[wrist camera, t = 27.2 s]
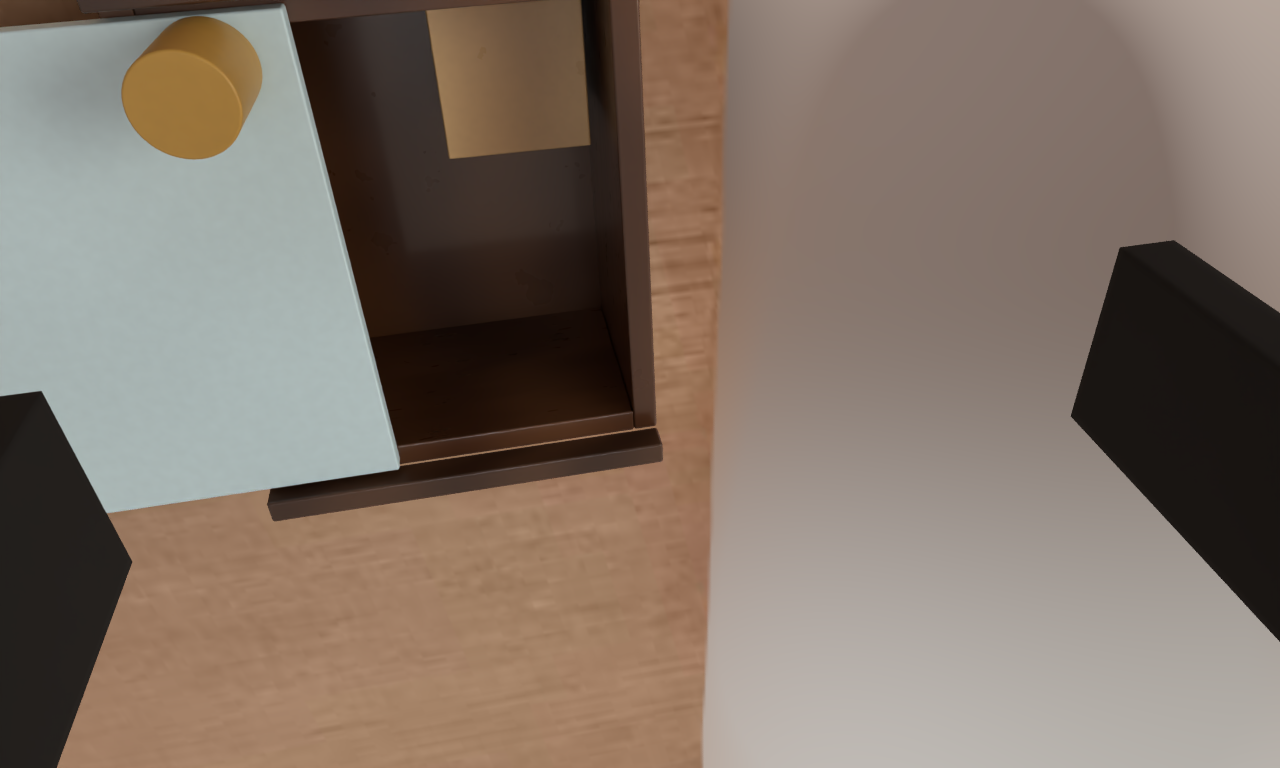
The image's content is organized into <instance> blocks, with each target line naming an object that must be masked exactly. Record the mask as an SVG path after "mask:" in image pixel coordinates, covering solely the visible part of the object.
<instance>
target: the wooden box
mask: <svg viewBox="0 0 1280 768" xmlns="http://www.w3.org/2000/svg"><path fill="white" fill-rule="evenodd" d="M529 1H541V0H77V2H78V5H79V8H80V10H81V12H82V13H95V12H98V14H99V17H100V19H102V18H114V17H126V16H137V15H149V14H160V13H172V12H184V11H195V10H207V9H219V8H230V7H242V6H254V5H265V4H277V3H283V4H284V5H285V7H286V10H287V14H288V18H289V22H290V26H291V30H292V34H293V38H294V42H295V46H296V50H297V54H298V58H299V62H300V66H301V70H302V74H303V78H304V82H305V85H306V89H307V93H308V97H309V101H310V105H311V109H312V113H313V117H314V121H315V125H316V129H317V133H318V137H319V141H320V145H321V149H322V153H323V157H324V161H325V164H326V168H327V172H328V176H329V180H330V184H331V188H332V192H333V196H334V200H335V204H336V208H337V212H338V216H339V220H340V224H341V228H342V232H343V236H344V240H345V243H346V247H347V251H348V255H349V259H350V263H351V267H352V271H353V275H354V279H355V283H356V287H357V291H358V295H359V299H360V303H361V307H362V311H363V315H364V319H365V322H366V326H367V330H368V334H369V338H370V342H371V346H372V350H373V354H374V358H375V362H376V366H377V370H378V374H379V378H380V382H381V386H382V390H383V394H384V397H385V401H386V405H387V409H388V413H389V417H390V421H391V425H392V429H393V433H394V437H395V441H396V445H397V449H398V453H399V457H400V464H404V463H411V462H417V461H424V460H431V459H437V458H444V457H451V456H457V455H464V454H471V453H477V452H484V451H491V450H497V449H504V448H511V447H517V446H524V445H531V444H538V443H544V442H551V441H558V440H564V439H571V438H578V437H584V436H591V435H598V434H604V433H611V432H618V431H624V430H631V429H633V428H634V427H635V428H643V427H650V426H655V425H656V401H655V376H654V352H653V328H652V304H651V279H650V255H649V231H648V206H647V182H646V158H645V134H644V109H643V85H642V61H641V37H640V12H639V0H581V2H582V17H583V32H584V47H585V62H586V77H587V92H588V107H589V122H590V137H591V144H590V145H586V146H576V147H566V148H556V149H546V150H536V151H526V152H516V153H506V154H496V155H486V156H476V157H466V158H456V159H449V156H448V150H447V144H446V138H445V132H444V125H443V119H442V113H441V107H440V100H439V94H438V88H437V82H436V76H435V69H434V63H433V57H432V51H431V44H430V38H429V32H428V26H427V20H426V13H425V11H428V10H439V9H450V8H462V7H473V6H484V5H496V4H507V3H518V2H529ZM662 460H663V447H662V442H661V439H660V436H659V433H658V430H657V429H656V428H651V429H644V430H638V431H631V432H624V433H618V434H611V435H604V436H598V437H591V438H584V439H578V440H571V441H564V442H558V443H551V444H544V445H538V446H531V447H524V448H518V449H511V450H504V451H498V452H491V453H484V454H478V455H471V456H464V457H458V458H451V459H444V460H438V461H431V462H424V463H418V464H411V465H404V466H400V467H399V469H398V470H392V471H385V472H379V473H372V474H365V475H359V476H352V477H345V478H339V479H332V480H325V481H319V482H312V483H306V484H299V485H292V486H286V487H279V488H272V489H270V494H269V499H268V503H267V506H268V508H269V511H270V514H271V516H272V519H273V521H281V520H287V519H293V518H300V517H306V516H313V515H319V514H326V513H332V512H339V511H345V510H352V509H358V508H365V507H371V506H377V505H384V504H390V503H397V502H403V501H410V500H416V499H423V498H429V497H436V496H442V495H449V494H455V493H462V492H468V491H474V490H481V489H487V488H494V487H500V486H507V485H513V484H520V483H526V482H533V481H539V480H546V479H552V478H558V477H565V476H571V475H578V474H584V473H591V472H597V471H604V470H610V469H617V468H623V467H630V466H636V465H642V464H649V463H655V462H661V461H662Z"/></svg>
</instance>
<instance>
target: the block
mask: <svg viewBox="0 0 1280 768" xmlns="http://www.w3.org/2000/svg"><path fill="white" fill-rule="evenodd" d="M425 13H426V20H427V26H428V32H429V38H430V44H431V51H432V57H433V63H434V69H435V76H436V82H437V88H438V94H439V100H440V107H441V113H442V119H443V125H444V132H445V138H446V144H447V150H448V156H449V159H456V158H466V157H476V156H486V155H496V154H506V153H516V152H526V151H536V150H546V149H556V148H566V147H576V146H586V145H590V144H591V137H590V122H589V107H588V92H587V77H586V62H585V47H584V32H583V17H582V2H581V0H541V1H529V2H518V3H507V4H496V5H484V6H473V7H462V8H450V9H439V10H428V11H425Z"/></svg>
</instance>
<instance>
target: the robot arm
mask: <svg viewBox="0 0 1280 768" xmlns="http://www.w3.org/2000/svg"><path fill="white" fill-rule="evenodd" d="M1071 417H1072V418H1073V419H1074V420H1075V421H1076V422H1077V423H1078V425H1079V426H1080V427H1081V428H1082V429H1083V430H1084V431H1085V432H1086V433H1087V434H1088V435H1089V436H1090V437H1091V438H1092V440H1093V441H1094V442H1095V443H1096V444H1097V445H1098V446H1099V447H1100V448H1101V449H1102V450H1103V452H1104V453H1106V455H1107V456H1108V457H1109V458H1110V459H1111V460H1112V461H1113V462H1114V463H1115V464H1116V465H1117V467H1119V469H1120V470H1121V471H1122V472H1123V473H1124V474H1125V475H1126V476H1127V477H1128V478H1129V479H1130V481H1131V482H1132V483H1133V484H1134V485H1135V486H1136V487H1137V488H1138V489H1139V490H1140V491H1141V492H1142V494H1143V495H1144V496H1145V497H1146V498H1147V499H1148V500H1149V501H1150V502H1151V503H1152V504H1153V505H1154V507H1156V509H1157V510H1158V511H1159V512H1160V513H1161V514H1162V515H1163V516H1164V517H1165V518H1166V519H1167V521H1169V523H1170V524H1171V525H1172V526H1173V527H1174V528H1175V529H1176V530H1177V531H1178V532H1179V533H1180V535H1182V537H1183V538H1184V539H1185V540H1186V541H1187V542H1188V543H1189V544H1190V545H1191V546H1192V547H1193V548H1194V550H1195V551H1196V552H1197V553H1198V554H1199V555H1200V556H1201V557H1202V558H1203V559H1204V560H1205V561H1206V562H1207V564H1208V565H1209V566H1210V567H1211V568H1212V569H1213V570H1214V571H1215V572H1216V573H1217V574H1218V576H1219V577H1220V578H1221V579H1222V580H1223V581H1224V582H1225V583H1226V584H1227V585H1228V586H1229V587H1230V588H1231V590H1232V591H1233V592H1234V593H1235V594H1236V595H1237V596H1238V597H1239V598H1240V599H1241V600H1242V601H1243V602H1244V604H1245V605H1246V606H1247V607H1248V608H1249V609H1250V610H1251V611H1252V612H1253V613H1254V614H1255V615H1256V617H1257V618H1258V619H1259V620H1260V621H1261V622H1262V623H1263V624H1264V625H1265V626H1266V627H1267V628H1268V629H1269V631H1270V632H1271V633H1272V634H1273V635H1274V636H1275V637H1276V638H1277V639H1278V640H1279V641H1280V313H1279V312H1278V311H1276V310H1275V309H1273V308H1272V307H1270V306H1269V305H1267V304H1266V303H1264V302H1263V301H1262V300H1260V299H1259V298H1257V297H1256V296H1254V295H1253V294H1251V293H1250V292H1248V291H1247V290H1245V289H1244V288H1243V287H1241V286H1240V285H1238V284H1237V283H1235V282H1234V281H1232V280H1231V279H1230V278H1228V277H1227V276H1225V275H1224V274H1222V273H1221V272H1219V271H1218V270H1216V269H1215V268H1214V267H1212V266H1211V265H1209V264H1208V263H1206V262H1205V261H1203V260H1202V259H1200V258H1199V257H1197V256H1196V255H1195V254H1193V253H1192V252H1190V251H1189V250H1187V249H1186V248H1185V247H1183V246H1182V245H1180V244H1179V243H1177V242H1175V241H1174V240H1173V241H1166V242H1158V243H1151V244H1143V245H1135V246H1128V247H1121V248H1120V249H1119V252H1118V256H1117V259H1116V263H1115V266H1114V269H1113V273H1112V276H1111V280H1110V283H1109V286H1108V290H1107V293H1106V297H1105V300H1104V304H1103V307H1102V311H1101V314H1100V317H1099V321H1098V325H1097V328H1096V331H1095V335H1094V338H1093V341H1092V345H1091V348H1090V352H1089V355H1088V358H1087V362H1086V365H1085V369H1084V372H1083V376H1082V379H1081V383H1080V386H1079V389H1078V393H1077V396H1076V400H1075V403H1074V407H1073V410H1072V414H1071ZM131 564H132V560H131V558H130V557H129V555H128V553H127V551H126V549H125V547H124V545H123V543H122V541H121V540H120V538H119V536H118V534H117V532H116V530H115V528H114V526H113V524H112V523H111V521H110V519H109V517H108V515H107V513H106V511H105V509H104V508H103V506H102V504H101V502H100V500H99V498H98V496H97V494H96V492H95V491H94V489H93V487H92V485H91V483H90V481H89V479H88V477H87V475H86V474H85V472H84V470H83V468H82V466H81V464H80V462H79V460H78V459H77V457H76V455H75V453H74V451H73V449H72V447H71V445H70V443H69V442H68V440H67V438H66V436H65V434H64V432H63V430H62V428H61V426H60V425H59V423H58V421H57V419H56V417H55V415H54V413H53V411H52V410H51V408H50V406H49V404H48V402H47V400H46V398H45V396H44V394H43V393H42V391H36V392H28V393H21V394H13V395H6V396H0V768H57V765H58V762H59V760H60V757H61V754H62V751H63V749H64V746H65V743H66V741H67V738H68V735H69V732H70V730H71V727H72V724H73V722H74V719H75V716H76V713H77V711H78V708H79V705H80V703H81V700H82V697H83V694H84V692H85V689H86V686H87V684H88V681H89V678H90V675H91V673H92V670H93V667H94V665H95V662H96V659H97V656H98V654H99V651H100V648H101V646H102V643H103V640H104V637H105V635H106V632H107V629H108V627H109V624H110V621H111V618H112V616H113V613H114V610H115V608H116V605H117V602H118V599H119V597H120V594H121V591H122V589H123V586H124V583H125V580H126V578H127V575H128V572H129V570H130V567H131Z"/></svg>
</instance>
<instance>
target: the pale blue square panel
mask: <svg viewBox="0 0 1280 768" xmlns="http://www.w3.org/2000/svg"><path fill="white" fill-rule="evenodd" d="M36 391H42V393H43V394H44V396H45V398H46V400H47V402H48V404H49V406H50V408H51V410H52V411H53V413H54V415H55V417H56V419H57V421H58V423H59V425H60V426H61V428H62V430H63V432H64V434H65V436H66V438H67V440H68V442H69V443H70V445H71V447H72V449H73V451H74V453H75V455H76V457H77V459H78V460H79V462H80V464H81V466H82V468H83V470H84V472H85V474H86V475H87V477H88V479H89V481H90V483H91V485H92V487H93V489H94V491H95V492H96V494H97V496H98V498H99V500H100V502H101V504H102V506H103V508H104V509H105V511H106V513H113V512H119V511H126V510H133V509H139V508H146V507H153V506H159V505H166V504H172V503H179V502H186V501H192V500H199V499H206V498H212V497H219V496H226V495H232V494H239V493H246V492H252V491H259V490H266V489H272V488H279V487H286V486H292V485H299V484H306V483H312V482H319V481H325V480H332V479H339V478H345V477H352V476H359V475H365V474H372V473H379V472H385V471H392V470H398V469H399V467H400V457H399V453H398V449H397V445H396V441H395V437H394V433H393V429H392V425H391V421H390V417H389V413H388V409H387V405H386V401H385V397H384V394H383V390H382V386H381V382H380V378H379V374H378V370H377V366H376V362H375V358H374V354H373V350H372V346H371V342H370V338H369V334H368V330H367V326H366V322H365V319H364V315H363V311H362V307H361V303H360V299H359V295H358V291H357V287H356V283H355V279H354V275H353V271H352V267H351V263H350V259H349V255H348V251H347V247H346V243H345V240H344V236H343V232H342V228H341V224H340V220H339V216H338V212H337V208H336V204H335V200H334V196H333V192H332V188H331V184H330V180H329V176H328V172H327V168H326V164H325V161H324V157H323V153H322V149H321V145H320V141H319V137H318V133H317V129H316V125H315V121H314V117H313V113H312V109H311V105H310V101H309V97H308V93H307V89H306V85H305V82H304V78H303V74H302V70H301V66H300V62H299V58H298V54H297V50H296V46H295V42H294V38H293V34H292V30H291V26H290V22H289V18H288V14H287V10H286V7H285V5H284V4H283V3H277V4H265V5H254V6H242V7H230V8H219V9H207V10H195V11H184V12H172V13H160V14H149V15H137V16H126V17H114V18H102V19H91V20H79V21H67V22H56V23H44V24H32V25H21V26H9V27H0V396H6V395H13V394H21V393H28V392H36Z"/></svg>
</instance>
